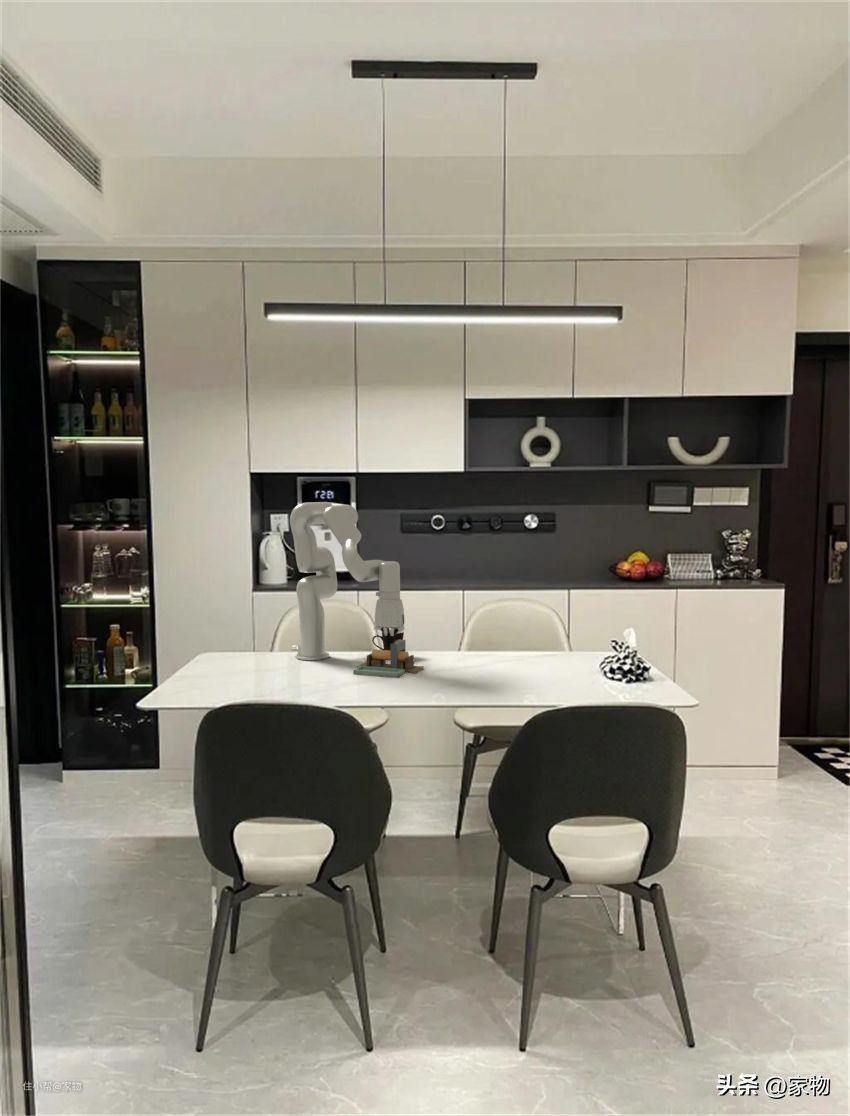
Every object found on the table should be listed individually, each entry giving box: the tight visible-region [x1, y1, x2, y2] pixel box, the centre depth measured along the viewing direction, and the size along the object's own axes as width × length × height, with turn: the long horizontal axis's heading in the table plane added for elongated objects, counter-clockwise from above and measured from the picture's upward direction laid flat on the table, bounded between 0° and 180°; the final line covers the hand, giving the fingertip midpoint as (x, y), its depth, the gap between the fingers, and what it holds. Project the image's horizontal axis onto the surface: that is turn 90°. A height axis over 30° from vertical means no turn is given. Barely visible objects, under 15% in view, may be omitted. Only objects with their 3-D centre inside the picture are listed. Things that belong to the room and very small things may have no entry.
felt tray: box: [352, 666, 406, 679], centre depth 276 cm, size 17×7×2 cm, turn 71°
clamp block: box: [356, 652, 425, 675], centre depth 283 cm, size 23×7×5 cm, turn 71°
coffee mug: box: [371, 629, 405, 651], centre depth 304 cm, size 12×9×10 cm
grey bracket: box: [390, 639, 407, 669], centre depth 282 cm, size 2×9×9 cm, turn 161°
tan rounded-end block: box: [371, 649, 410, 662], centre depth 283 cm, size 13×4×4 cm, turn 71°
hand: (390, 646), depth 283 cm, fingers closed
